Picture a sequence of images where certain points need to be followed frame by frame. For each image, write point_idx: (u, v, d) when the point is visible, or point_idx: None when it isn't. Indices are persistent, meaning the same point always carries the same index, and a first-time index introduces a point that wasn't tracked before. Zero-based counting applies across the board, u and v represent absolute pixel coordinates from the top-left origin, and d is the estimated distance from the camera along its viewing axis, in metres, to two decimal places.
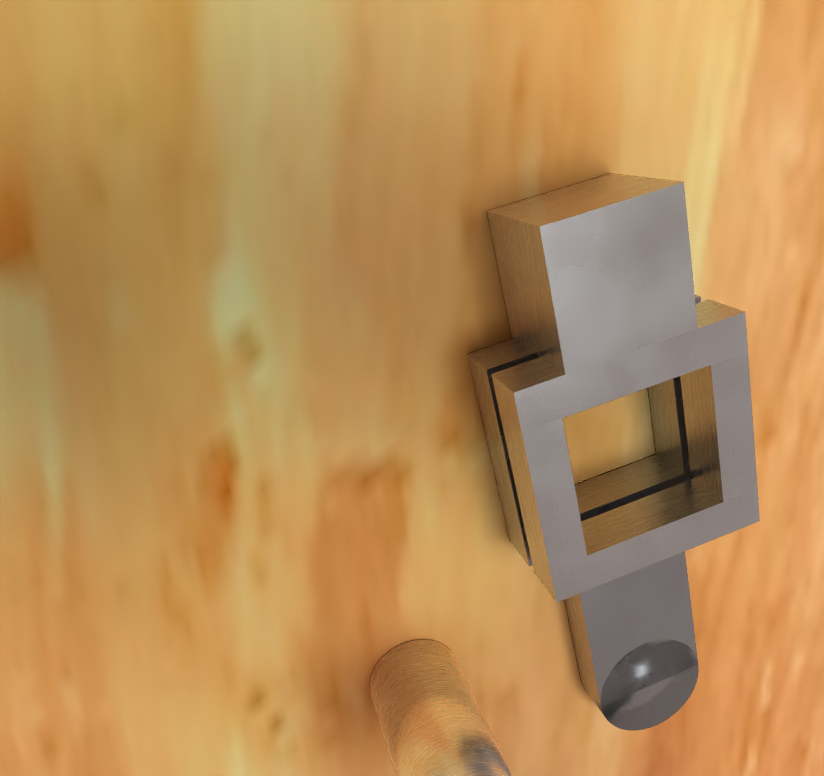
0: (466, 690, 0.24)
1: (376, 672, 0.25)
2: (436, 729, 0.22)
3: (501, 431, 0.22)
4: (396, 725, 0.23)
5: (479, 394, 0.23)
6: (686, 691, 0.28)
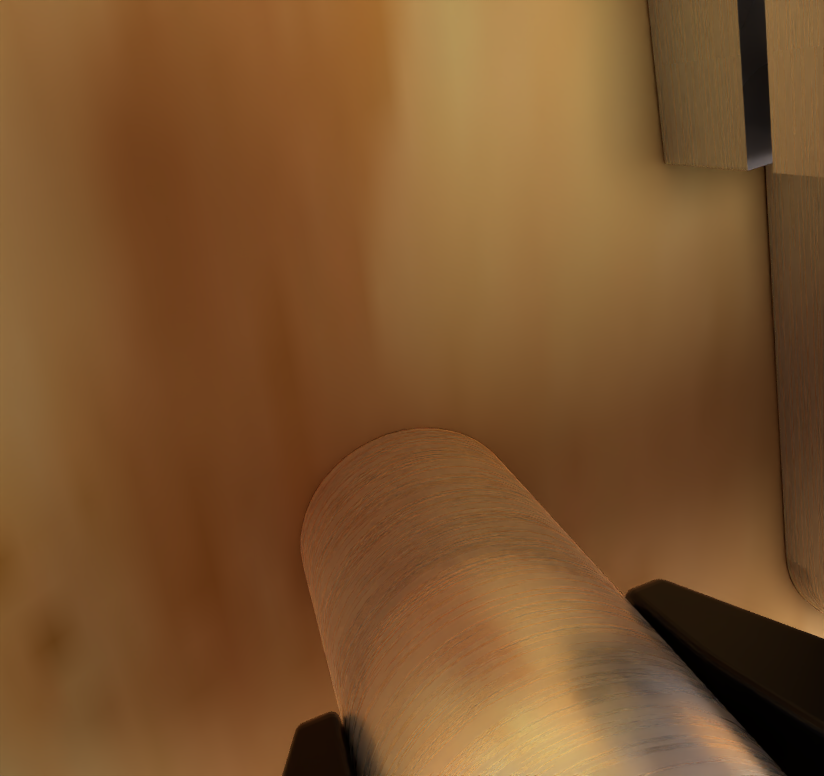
0: (564, 531, 0.08)
1: (316, 505, 0.10)
2: (490, 616, 0.06)
3: None
4: (358, 618, 0.07)
5: None
6: None
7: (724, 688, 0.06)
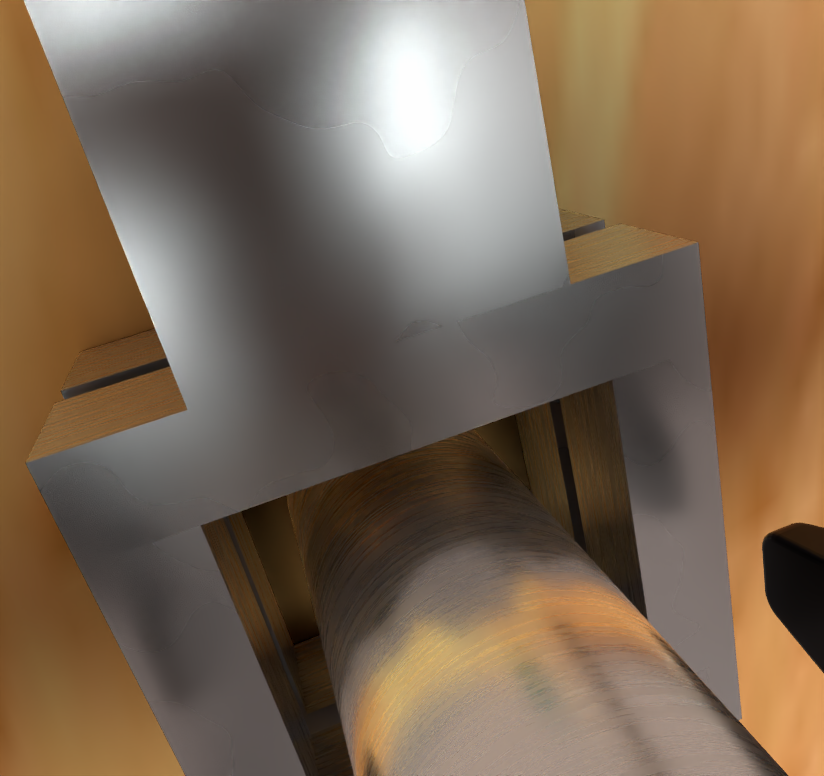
0: (509, 469, 0.10)
1: None
2: (433, 522, 0.08)
3: None
4: (330, 535, 0.09)
5: None
6: None
7: None
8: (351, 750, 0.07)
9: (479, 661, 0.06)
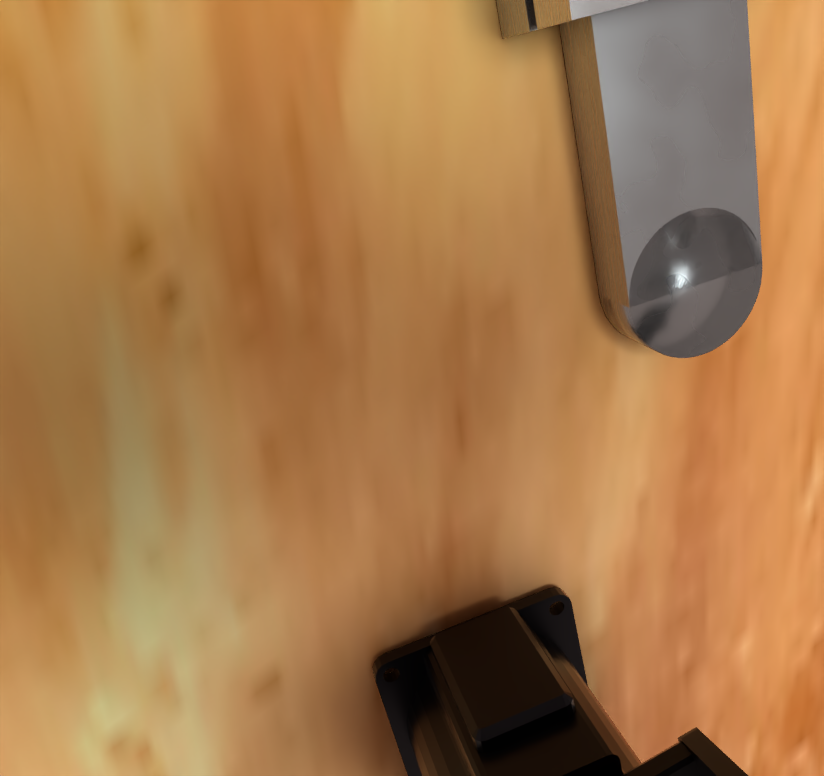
0: None
1: None
2: None
3: None
4: None
5: None
6: (745, 305, 0.20)
7: None
8: None
9: None
